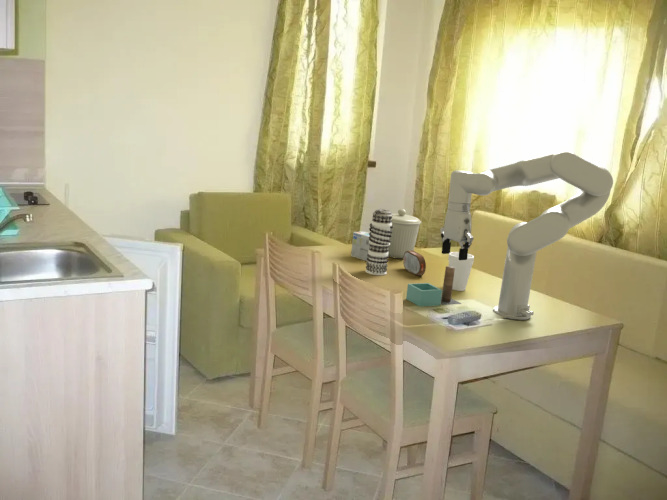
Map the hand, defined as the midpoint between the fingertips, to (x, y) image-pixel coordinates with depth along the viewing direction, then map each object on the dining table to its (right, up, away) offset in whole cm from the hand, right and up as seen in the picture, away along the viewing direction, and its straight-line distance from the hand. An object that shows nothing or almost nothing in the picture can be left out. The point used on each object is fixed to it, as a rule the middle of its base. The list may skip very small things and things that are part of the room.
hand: (454, 256), depth 239 cm
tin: (-9, -7, +42) cm, 43 cm away
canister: (-13, -1, +69) cm, 70 cm away
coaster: (-2, -16, +4) cm, 17 cm away
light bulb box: (-28, -2, +58) cm, 65 cm away
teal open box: (-11, -16, 0) cm, 19 cm away
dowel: (-2, -15, +4) cm, 16 cm away
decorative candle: (-25, -7, +36) cm, 44 cm away
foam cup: (+5, -12, +24) cm, 28 cm away
